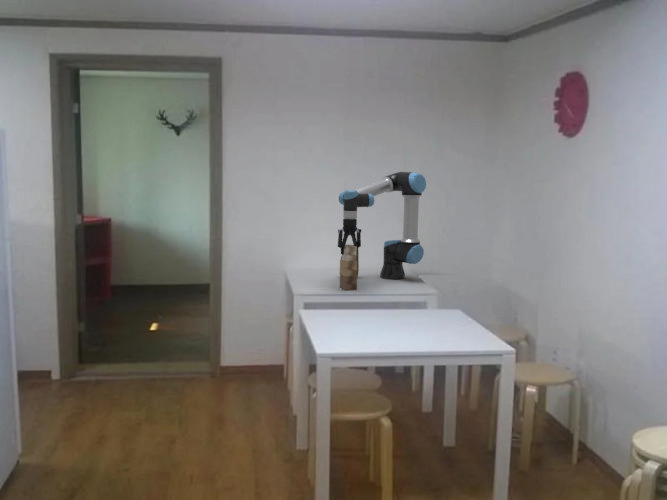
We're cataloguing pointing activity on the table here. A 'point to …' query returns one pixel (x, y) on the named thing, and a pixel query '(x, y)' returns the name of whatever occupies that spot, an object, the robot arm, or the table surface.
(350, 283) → the walnut block
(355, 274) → the oak block
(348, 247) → the maple block
